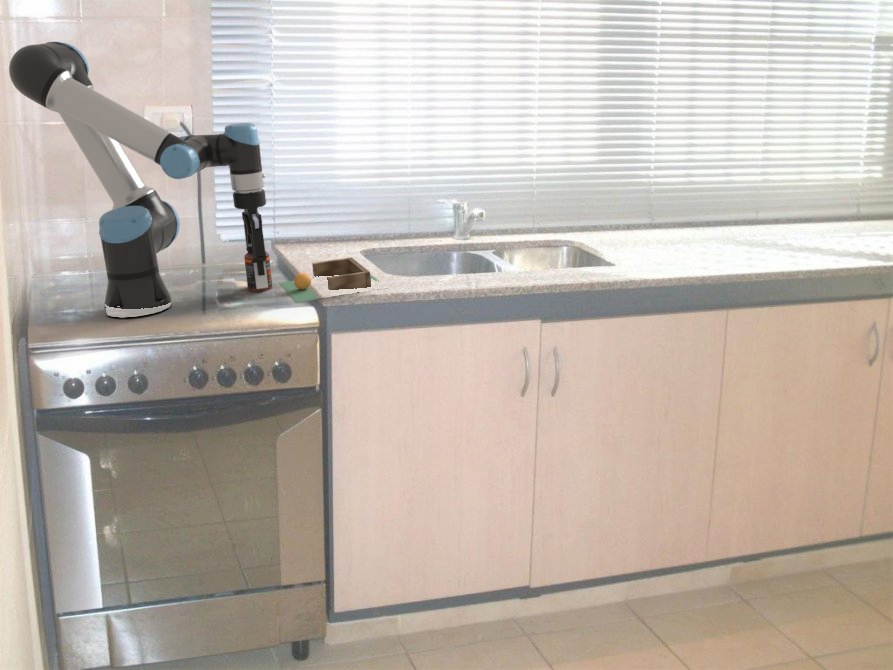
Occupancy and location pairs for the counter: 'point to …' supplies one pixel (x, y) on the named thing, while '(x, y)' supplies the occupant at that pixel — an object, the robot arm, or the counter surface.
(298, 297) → the pitch mat
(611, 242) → the counter surface
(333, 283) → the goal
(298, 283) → the ball
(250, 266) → the supplement bottle
